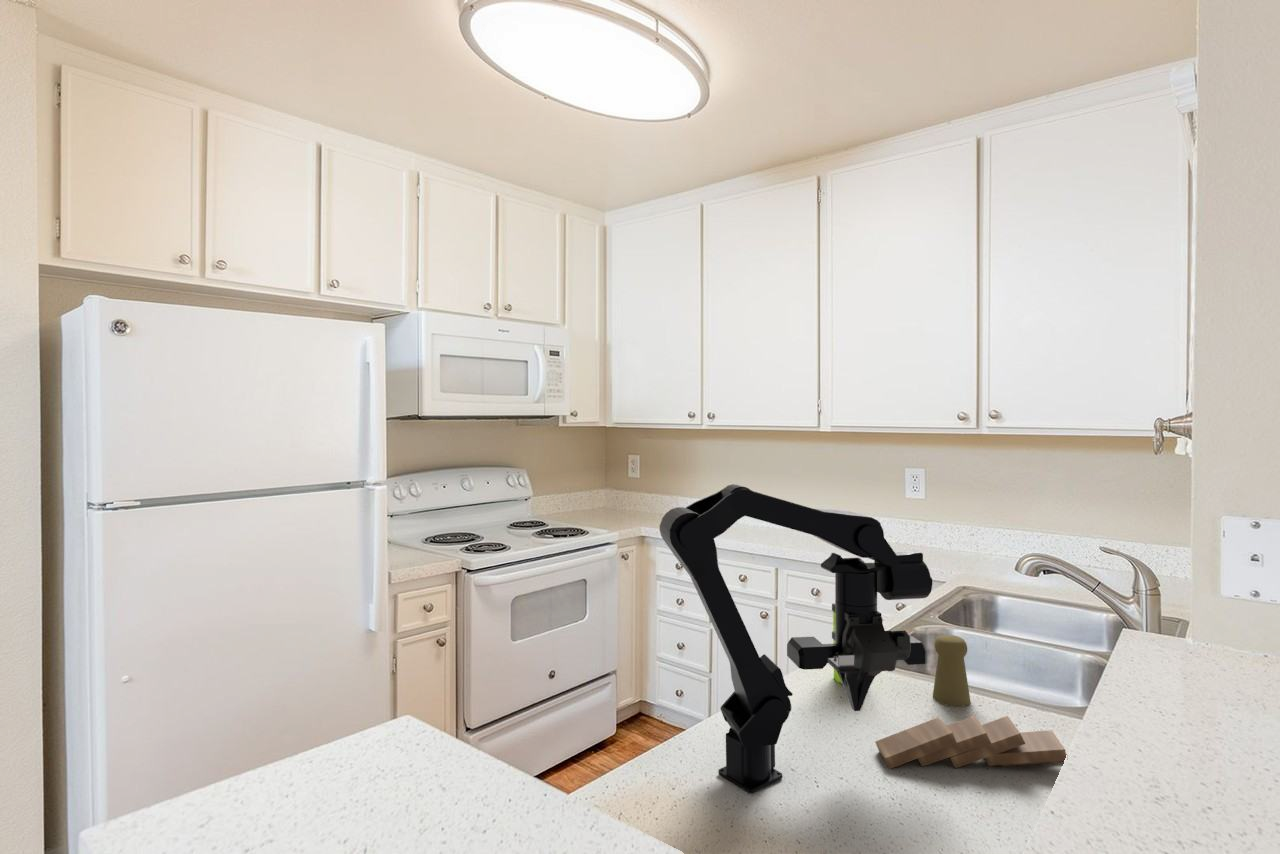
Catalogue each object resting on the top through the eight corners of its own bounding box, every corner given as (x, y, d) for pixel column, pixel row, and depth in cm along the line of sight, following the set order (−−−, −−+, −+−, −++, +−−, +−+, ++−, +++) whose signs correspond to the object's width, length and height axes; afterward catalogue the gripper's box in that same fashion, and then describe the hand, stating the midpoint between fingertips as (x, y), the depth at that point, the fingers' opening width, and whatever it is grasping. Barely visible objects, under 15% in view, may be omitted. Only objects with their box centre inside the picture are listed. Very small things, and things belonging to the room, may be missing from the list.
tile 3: (950, 757, 94) (1020, 733, 92) (941, 739, 99) (1007, 715, 97) (955, 768, 94) (1025, 743, 92) (946, 749, 99) (1012, 725, 97)
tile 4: (986, 754, 94) (1065, 749, 91) (977, 735, 98) (1051, 730, 96) (988, 765, 94) (1067, 760, 91) (979, 746, 99) (1053, 740, 96)
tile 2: (916, 756, 95) (986, 732, 93) (909, 738, 100) (974, 715, 98) (921, 766, 95) (991, 743, 93) (913, 748, 100) (979, 725, 98)
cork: (975, 707, 113) (974, 643, 113) (937, 705, 115) (936, 641, 115) (965, 693, 119) (964, 632, 119) (929, 691, 121) (928, 630, 120)
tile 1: (885, 758, 94) (952, 732, 94) (875, 741, 99) (938, 717, 99) (889, 768, 94) (956, 743, 94) (879, 751, 99) (942, 727, 99)
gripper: (814, 620, 86) (814, 740, 87) (949, 615, 89) (949, 732, 89) (785, 597, 97) (785, 704, 98) (906, 593, 100) (906, 698, 100)
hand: (855, 710), depth 96 cm, fingers closed
